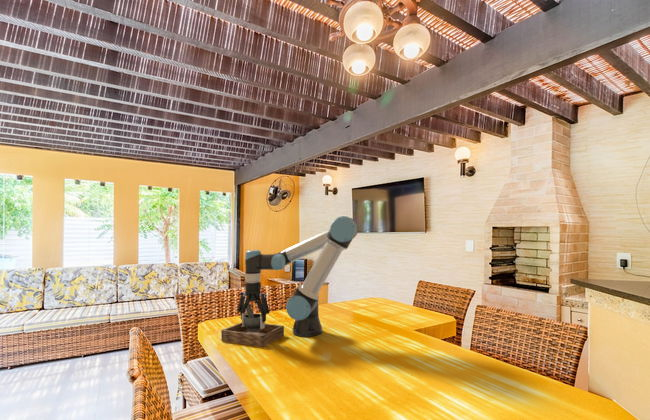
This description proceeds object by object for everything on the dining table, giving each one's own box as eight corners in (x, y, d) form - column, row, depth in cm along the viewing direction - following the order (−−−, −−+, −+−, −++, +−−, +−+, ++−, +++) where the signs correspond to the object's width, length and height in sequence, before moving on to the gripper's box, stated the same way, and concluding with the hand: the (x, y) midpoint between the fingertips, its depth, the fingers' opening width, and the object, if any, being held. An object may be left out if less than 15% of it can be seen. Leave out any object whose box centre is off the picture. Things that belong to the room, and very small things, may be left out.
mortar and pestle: (266, 330, 171) (266, 305, 172) (249, 334, 165) (249, 308, 165) (254, 325, 179) (254, 302, 180) (238, 329, 173) (238, 304, 174)
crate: (283, 336, 175) (283, 325, 175) (262, 347, 159) (262, 336, 159) (244, 330, 185) (244, 321, 185) (221, 340, 169) (221, 330, 169)
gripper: (276, 281, 172) (277, 327, 171) (239, 279, 182) (239, 323, 180) (268, 284, 165) (268, 332, 164) (229, 281, 175) (229, 327, 173)
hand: (253, 327), depth 172 cm, fingers closed on mortar and pestle, 10 cm apart
